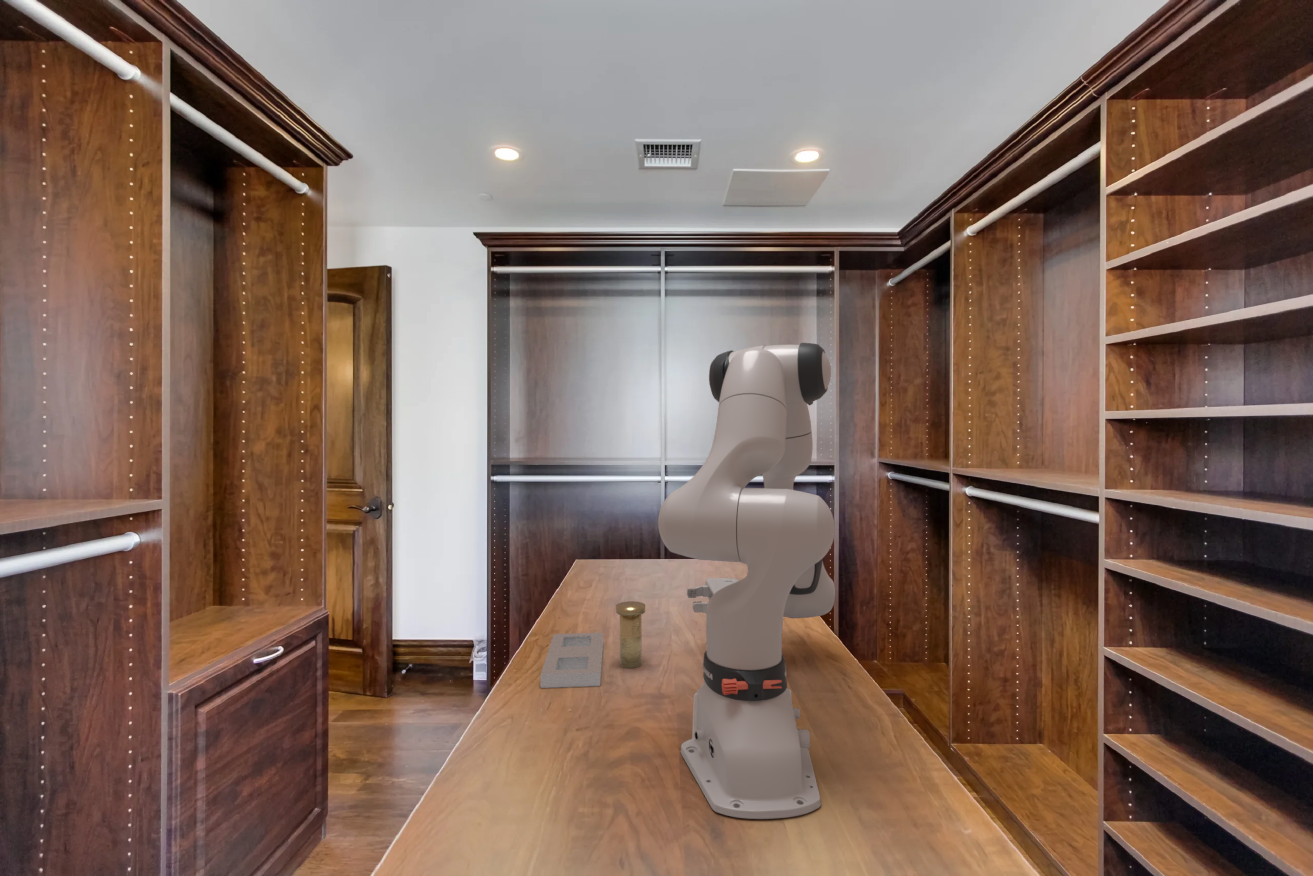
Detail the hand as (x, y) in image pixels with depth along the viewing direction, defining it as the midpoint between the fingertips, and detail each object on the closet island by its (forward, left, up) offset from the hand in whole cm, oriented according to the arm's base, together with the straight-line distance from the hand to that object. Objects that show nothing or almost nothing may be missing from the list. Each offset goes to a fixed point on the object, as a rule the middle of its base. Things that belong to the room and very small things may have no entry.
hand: (689, 599), depth 120 cm
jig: (+1, +24, -13) cm, 27 cm away
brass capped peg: (0, +12, -13) cm, 18 cm away
